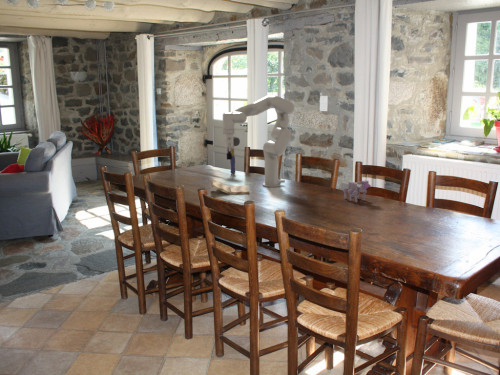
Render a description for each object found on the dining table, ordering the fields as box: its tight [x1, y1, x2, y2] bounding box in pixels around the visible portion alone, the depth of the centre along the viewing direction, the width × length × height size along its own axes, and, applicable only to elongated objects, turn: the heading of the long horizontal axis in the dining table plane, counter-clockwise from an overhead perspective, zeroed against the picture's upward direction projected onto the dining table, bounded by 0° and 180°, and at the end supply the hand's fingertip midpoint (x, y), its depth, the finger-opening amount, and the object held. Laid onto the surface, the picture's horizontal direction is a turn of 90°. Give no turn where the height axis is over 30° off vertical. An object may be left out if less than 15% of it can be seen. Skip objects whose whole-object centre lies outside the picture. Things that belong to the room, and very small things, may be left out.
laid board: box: [229, 185, 250, 195], centre depth 335 cm, size 12×18×2 cm
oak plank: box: [210, 179, 231, 195], centre depth 333 cm, size 13×18×2 cm
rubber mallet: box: [229, 135, 241, 175], centre depth 392 cm, size 12×8×30 cm, turn 35°
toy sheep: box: [342, 179, 372, 203], centre depth 303 cm, size 20×11×14 cm, turn 32°
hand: (229, 159), depth 329 cm, fingers closed
